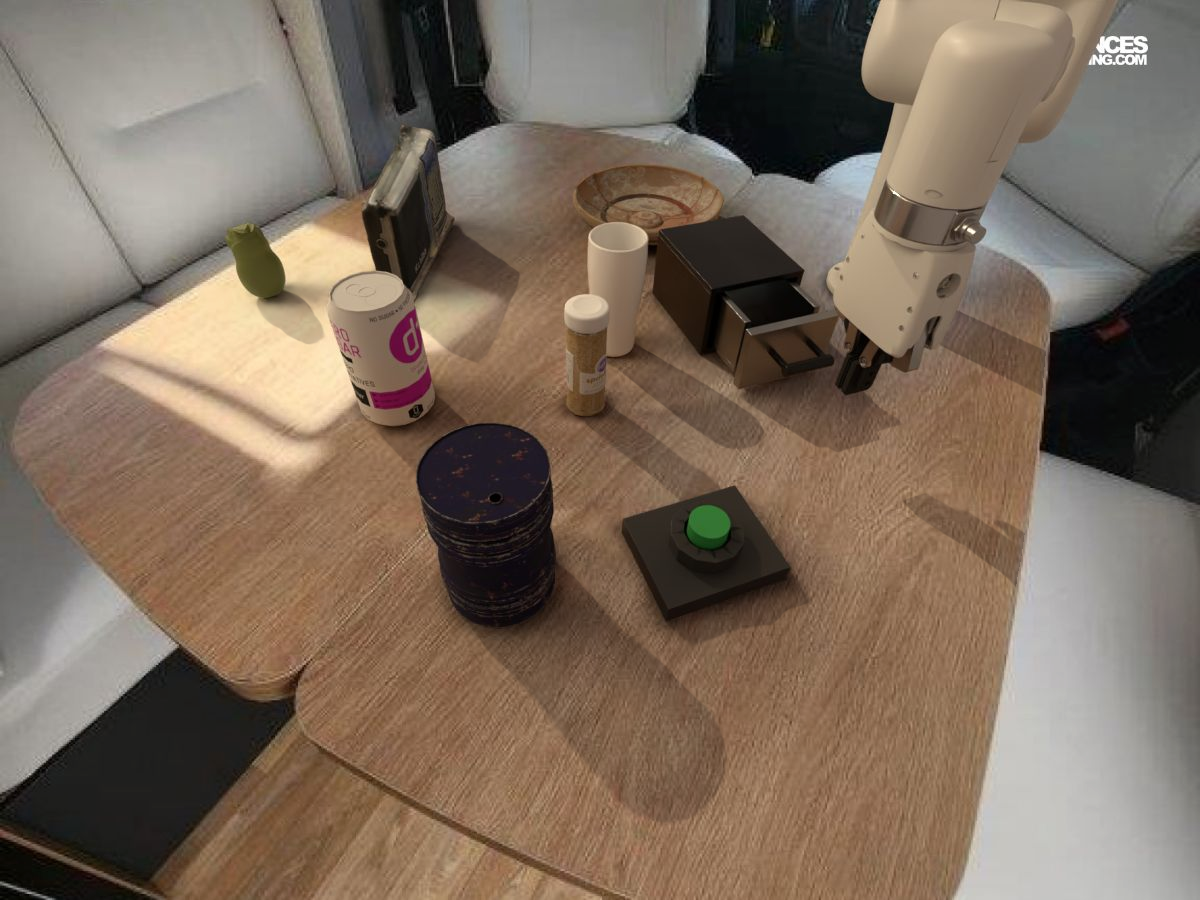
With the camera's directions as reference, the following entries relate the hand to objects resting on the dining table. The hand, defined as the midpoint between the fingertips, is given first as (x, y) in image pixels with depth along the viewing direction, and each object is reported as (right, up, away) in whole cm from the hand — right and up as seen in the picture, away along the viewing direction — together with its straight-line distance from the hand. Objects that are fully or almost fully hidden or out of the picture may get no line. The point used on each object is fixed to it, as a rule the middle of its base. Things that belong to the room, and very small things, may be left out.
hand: (851, 387), depth 63 cm
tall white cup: (-24, +7, +17) cm, 30 cm away
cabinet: (-9, +12, +22) cm, 27 cm away
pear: (-70, +15, +23) cm, 75 cm away
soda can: (-48, -1, +9) cm, 49 cm away
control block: (-16, -16, -4) cm, 23 cm away
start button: (-16, -14, -7) cm, 22 cm away
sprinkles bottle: (-27, -1, +9) cm, 29 cm away
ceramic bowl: (-18, +30, +39) cm, 53 cm away
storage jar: (-34, -18, -6) cm, 39 cm away
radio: (-52, +22, +30) cm, 64 cm away
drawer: (-5, +5, +15) cm, 17 cm away
